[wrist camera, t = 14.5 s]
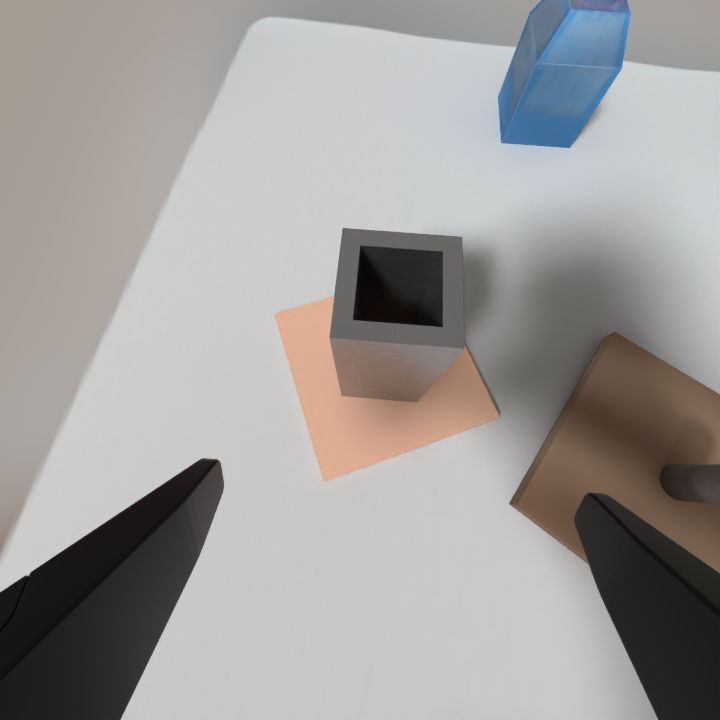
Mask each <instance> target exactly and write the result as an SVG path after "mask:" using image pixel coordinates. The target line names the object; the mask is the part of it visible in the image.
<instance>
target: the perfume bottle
mask: <svg viewBox="0 0 720 720" xmlns="http://www.w3.org/2000/svg"><path fill="white" fill-rule="evenodd" d="M630 15H631V13H630V9H629V6H628V2H627V0H541V2H539V3H538V4H537V6H536V7H535V8H534V9H533V10H532V11H531V12H530V14H529V16H528V19H527V22H526V24H525V27H524V30H523V32H522V35H521V37H520V40H519V43H518V45H517V48H516V51H515V53H514V56H513V59H512V61H511V64H510V67H509V69H508V72H507V74H506V77H505V80H504V82H503V85H502V88H501V90H500V93H499V96H498V103H499V117H500V132H501V143H509V144H522V145H536V146H550V147H563V148H570V146H571V145H572V143H573V142H574V140H575V139H576V137H577V136H578V134H579V133H580V131H581V130H582V128H583V127H584V125H585V124H586V122H587V121H588V119H589V118H590V116H591V115H592V113H593V112H594V110H595V109H596V107H597V105H598V104H599V102H600V101H601V99H602V98H603V96H604V95H605V93H606V92H607V90H608V89H609V87H610V86H611V84H612V83H613V81H614V80H615V78H616V77H617V75H618V74H619V72H620V71H621V69H622V64H623V58H624V52H625V45H626V40H627V34H628V28H629V22H630Z"/></svg>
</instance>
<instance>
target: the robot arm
mask: <svg viewBox="0 0 720 720" xmlns="http://www.w3.org/2000/svg"><path fill="white" fill-rule="evenodd" d="M223 489H224V480H223V474H222V468H221V463H220V461H219V460H217V459H207V458H203V459H200V460H199V461H197V462H196V463H194V464H193V465H191V466H190V467H188V468H187V469H185V470H184V471H182V472H181V473H179V474H178V475H176V476H175V477H173V478H172V479H170V480H169V481H167V482H166V483H164V484H163V485H161V486H160V487H158V488H157V489H155V490H153V491H152V492H150V493H149V494H147V495H146V496H144V497H143V498H141V499H140V500H138V501H137V502H135V503H134V504H132V505H131V506H129V507H128V508H126V509H125V510H123V511H122V512H120V513H119V514H117V515H116V516H114V517H113V518H111V519H110V520H108V521H107V522H105V523H104V524H102V525H101V526H99V527H98V528H96V529H95V530H93V531H92V532H90V533H89V534H87V535H86V536H84V537H83V538H81V539H80V540H78V541H77V542H75V543H74V544H72V545H71V546H69V547H68V548H66V549H65V550H63V551H62V552H60V553H59V554H57V555H56V556H54V557H53V558H51V559H50V560H48V561H47V562H45V563H44V564H42V565H41V566H39V567H38V568H36V569H35V570H33V571H32V572H31V573H30V575H29V576H24V577H23V578H21V579H20V580H18V581H17V582H15V583H14V584H12V585H11V586H9V587H8V588H6V589H5V590H3V591H2V592H0V720H120V719H121V717H122V715H123V713H124V711H125V709H126V707H127V705H128V703H129V701H130V699H131V697H132V695H133V693H134V691H135V688H136V686H137V684H138V682H139V680H140V678H141V676H142V674H143V672H144V670H145V668H146V666H147V664H148V662H149V659H150V657H151V655H152V653H153V651H154V649H155V647H156V645H157V643H158V641H159V639H160V637H161V635H162V633H163V631H164V628H165V626H166V624H167V622H168V620H169V618H170V616H171V614H172V612H173V610H174V608H175V606H176V604H177V602H178V599H179V597H180V595H181V593H182V591H183V589H184V587H185V585H186V583H187V581H188V579H189V577H190V575H191V573H192V571H193V568H194V566H195V564H196V562H197V560H198V558H199V555H200V553H201V550H202V548H203V545H204V542H205V540H206V537H207V534H208V532H209V529H210V526H211V523H212V521H213V518H214V515H215V512H216V510H217V507H218V504H219V502H220V499H221V496H222V493H223ZM574 524H575V528H576V530H577V533H578V536H579V539H580V541H581V544H582V547H583V550H584V552H585V555H586V558H587V561H588V563H589V566H590V569H591V572H592V574H593V577H594V580H595V583H596V585H597V588H598V590H599V593H600V595H601V597H602V600H603V602H604V604H605V606H606V609H607V611H608V613H609V615H610V617H611V619H612V621H613V624H614V626H615V628H616V630H617V632H618V634H619V636H620V639H621V641H622V643H623V645H624V647H625V649H626V652H627V654H628V656H629V658H630V660H631V662H632V664H633V667H634V669H635V671H636V673H637V675H638V677H639V679H640V682H641V684H642V686H643V688H644V690H645V692H646V694H647V697H648V699H649V701H650V703H651V705H652V707H653V710H654V712H655V714H656V716H657V718H658V720H720V573H719V572H718V571H716V570H715V569H713V568H712V567H711V566H709V565H708V564H706V563H705V562H703V561H702V560H700V559H699V558H698V557H696V556H695V555H693V554H692V553H690V552H689V551H688V550H686V549H685V548H683V547H682V546H680V545H679V544H678V543H676V542H675V541H673V540H672V539H670V538H669V537H667V536H666V535H665V534H663V533H662V532H660V531H659V530H657V529H656V528H655V527H653V526H652V525H650V524H649V523H647V522H646V521H645V520H643V519H642V518H640V517H639V516H637V515H636V514H634V513H633V512H632V511H630V510H629V509H627V508H626V507H624V506H623V505H622V504H620V503H619V502H617V501H616V500H614V499H613V498H612V497H610V496H608V495H606V494H603V493H591V492H590V493H587V494H585V495H584V497H583V499H582V501H581V503H580V505H579V507H578V509H577V511H576V512H575V515H574Z"/></svg>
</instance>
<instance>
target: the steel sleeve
mask: <svg viewBox="0 0 720 720" xmlns="http://www.w3.org/2000/svg"><path fill="white" fill-rule="evenodd" d="M329 339H330V344H331V348H332V353H333V358H334V363H335V368H336V372H337V377H338V382H339V387H340V391H341V396H345V397H357V398H369V399H381V400H393V401H405V402H418V401H419V400H420V399H421V397H422V396H423V395H424V394H425V393H426V392H427V391H428V390H429V388H430V387H431V386H432V385H433V384H434V383H435V382H436V381H437V379H438V378H439V377H440V376H441V375H442V374H443V373H444V372H445V370H446V369H447V368H448V367H449V366H450V365H451V364H452V362H453V361H454V360H455V359H456V358H457V357H458V356H459V355H460V353H461V352H462V351H463V350H464V349H465V343H464V298H463V252H462V237H456V236H443V235H429V234H415V233H402V232H388V231H375V230H361V229H348V228H343V230H342V238H341V247H340V255H339V263H338V271H337V279H336V287H335V295H334V304H333V312H332V320H331V328H330V336H329Z"/></svg>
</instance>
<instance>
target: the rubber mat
mask: <svg viewBox="0 0 720 720" xmlns="http://www.w3.org/2000/svg"><path fill="white" fill-rule="evenodd" d="M333 304H334V296H333V297H330V298H327V299H323V300H320V301H317V302H313V303H310V304H307V305H303V306H300V307H297V308H293V309H290V310H287V311H284V312H280V313H277V314H274V315H275V318H276V321H277V325H278V328H279V332H280V335H281V338H282V342H283V345H284V349H285V352H286V355H287V359H288V362H289V366H290V369H291V372H292V376H293V379H294V383H295V386H296V389H297V393H298V396H299V400H300V403H301V406H302V410H303V413H304V417H305V420H306V423H307V427H308V430H309V434H310V437H311V440H312V444H313V447H314V451H315V454H316V457H317V461H318V464H319V468H320V471H321V474H322V478H323V481H324V482H326V481H329V480H331V479H334V478H337V477H340V476H342V475H345V474H348V473H350V472H353V471H356V470H359V469H361V468H364V467H367V466H369V465H372V464H375V463H378V462H380V461H383V460H386V459H388V458H391V457H394V456H397V455H399V454H402V453H405V452H407V451H410V450H413V449H416V448H418V447H421V446H424V445H426V444H429V443H432V442H435V441H437V440H440V439H443V438H445V437H448V436H451V435H453V434H456V433H459V432H462V431H464V430H467V429H470V428H472V427H475V426H478V425H481V424H483V423H486V422H489V421H491V420H494V419H497V418H500V416H499V414H498V412H497V410H496V408H495V405H494V403H493V401H492V399H491V397H490V395H489V393H488V391H487V389H486V387H485V385H484V383H483V381H482V379H481V377H480V375H479V372H478V370H477V368H476V366H475V364H474V362H473V360H472V358H471V356H470V354H469V352H468V350H467V348H466V346H465V349H464V350H463V351H462V352H461V353H460V355H459V356H458V357H457V358H456V359H455V360H454V361H453V362H452V364H451V365H450V366H449V367H448V368H447V369H446V370H445V372H444V373H443V374H442V375H441V376H440V377H439V378H438V379H437V381H436V382H435V383H434V384H433V385H432V386H431V387H430V388H429V390H428V391H427V392H426V393H425V394H424V395H423V396H422V397H421V399H420V400H419V401H418V402H405V401H393V400H381V399H369V398H357V397H345V396H341V391H340V387H339V382H338V377H337V372H336V368H335V363H334V358H333V353H332V348H331V344H330V339H329V336H330V328H331V320H332V312H333Z"/></svg>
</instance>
